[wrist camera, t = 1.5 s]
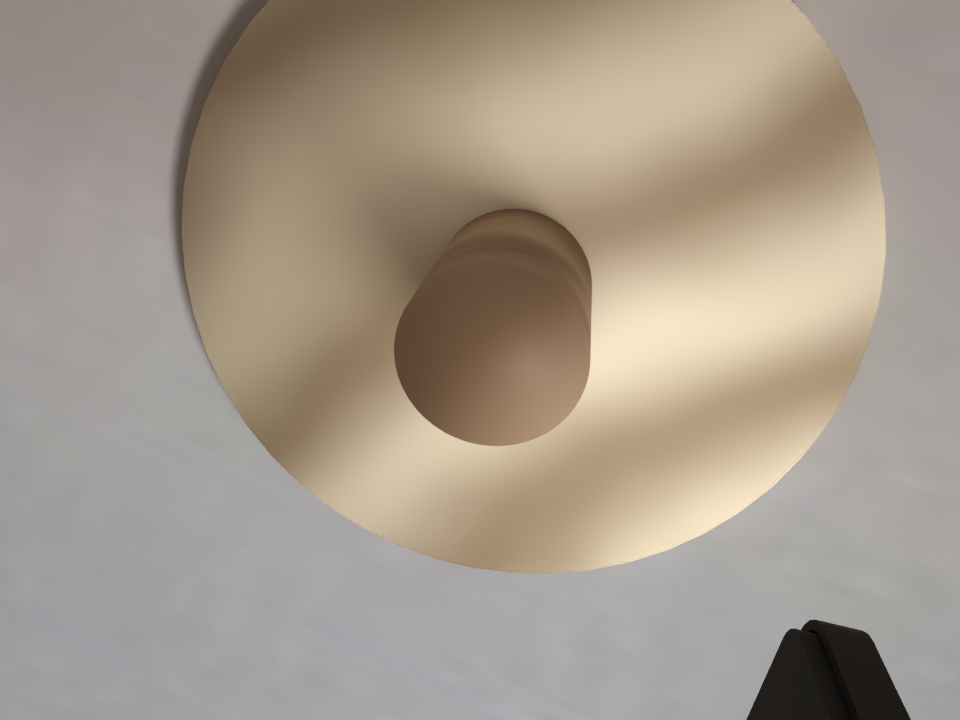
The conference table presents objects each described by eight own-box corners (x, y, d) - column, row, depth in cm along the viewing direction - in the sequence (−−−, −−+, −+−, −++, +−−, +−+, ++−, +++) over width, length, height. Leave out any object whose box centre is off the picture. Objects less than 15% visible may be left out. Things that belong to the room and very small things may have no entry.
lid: (1003, 353, 21) (1147, 470, 15) (462, 639, 27) (427, 797, 21) (605, -308, 17) (608, -468, 11) (71, 202, 23) (-96, 258, 17)
